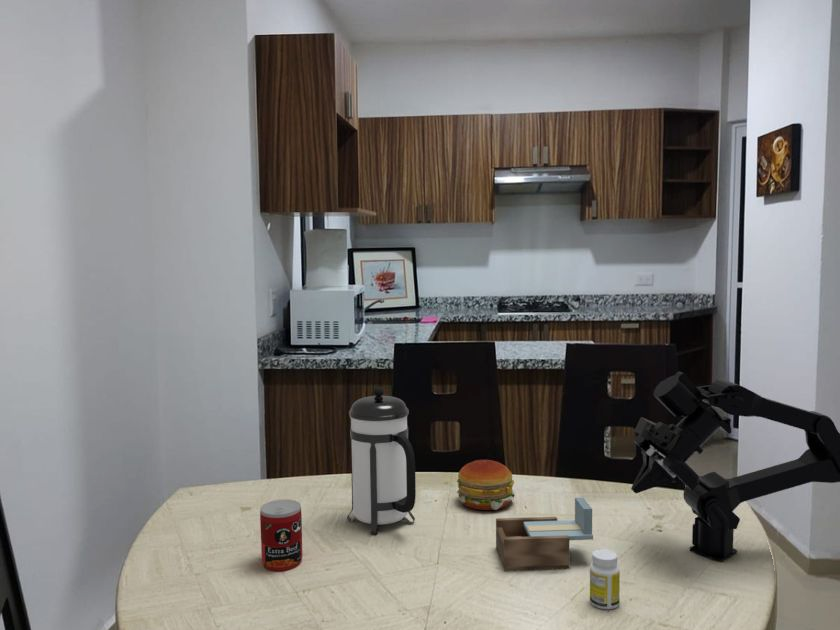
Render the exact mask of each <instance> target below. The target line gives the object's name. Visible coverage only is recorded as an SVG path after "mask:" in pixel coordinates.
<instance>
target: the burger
mask: <svg viewBox="0 0 840 630" xmlns="http://www.w3.org/2000/svg"><path fill="white" fill-rule="evenodd" d="M457 475H458V477H457V478H458V479H457V480H456V483H458V484H457V487H458V490H457V492H456V493H457V494H458V499H459V501H460V502H461V503H462V505H464V506H466V507H468V508H471V509H476V510H484V511H489V510H490V511H492V510H499V509H502V508H505V507H506V506H508V505H509V504H510V502H511V500H514V499H515V496H516V494H515V491H514V489H513V485H514V484H515V481H514V479H513V474H512V471H510V469H509V468H508V467H507V466H506V465H504V464H502V463H501V462H500V461H495V460H492V459H491V460H490V459H478V460H477V459H476V460H473V461H470V462H468V463H466V464H465V465H464V466H463V467H461V469H460V470H459V471H458V474H457Z"/></svg>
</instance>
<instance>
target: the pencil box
mask: <svg viewBox="0 0 840 630" xmlns="http://www.w3.org/2000/svg"><path fill="white" fill-rule="evenodd" d="M532 521H558V517H557V516H540V517H539V516H538V517H535V516H533V517H505V518H503V517H502V518H495V548H496V551H497V554H498V557H499V560H500V562H501V565H502V568H503V571H504V572H518V571H521V572H522V571H549V570H550V571H551V570H552V571H553V570H570V540H569V536H568V535H564V536H532V537H529V536H528V534H527V532H526V530H525V528H524V526H523V522H532Z"/></svg>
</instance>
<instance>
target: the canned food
mask: <svg viewBox="0 0 840 630" xmlns="http://www.w3.org/2000/svg"><path fill="white" fill-rule="evenodd" d="M259 509H260V510H259V515H260V516H259V522H260V523H259V524H260V527H259V528H260V543H261V544H260V545H261V546H260V549H261V562H262V565H263V567H264V568H265V569H266V570H268V571H272V572H283V571H284V572H286V571H289V570H293V569H294V568H297V567H298V566H299V565H300V564H301V563H302V560H303V555H304V554H303V529H302V528H303V527H302V526H303V523H302V522H303V521H302V516H303V515H302V504H301V502H299V501H297V500H294V499H287V498H285V499H283V498H282V499H274V500H271V501H268V502H266V503H264V504H262V505H261V507H260V508H259Z"/></svg>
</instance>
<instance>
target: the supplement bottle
mask: <svg viewBox="0 0 840 630" xmlns="http://www.w3.org/2000/svg"><path fill="white" fill-rule="evenodd" d="M591 554H592V556H591V561H592V562H591V564H590V565H589V601H590V603H591V604H592V605H593V606H594V607H596V608H598V609H601V610H613V609H616V608H618V607H619V605H620V588H621V587H620V578H621V577H620V575H621V574H620V572H621V571H620V567H619V565H618V555H617V553H616V552H614V551H613V550H610V549H603V548H600V549H596V550H594V551H592V553H591Z"/></svg>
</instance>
